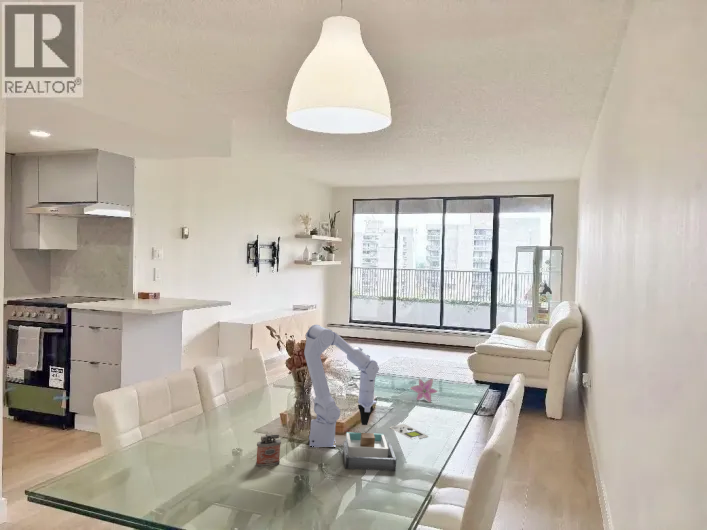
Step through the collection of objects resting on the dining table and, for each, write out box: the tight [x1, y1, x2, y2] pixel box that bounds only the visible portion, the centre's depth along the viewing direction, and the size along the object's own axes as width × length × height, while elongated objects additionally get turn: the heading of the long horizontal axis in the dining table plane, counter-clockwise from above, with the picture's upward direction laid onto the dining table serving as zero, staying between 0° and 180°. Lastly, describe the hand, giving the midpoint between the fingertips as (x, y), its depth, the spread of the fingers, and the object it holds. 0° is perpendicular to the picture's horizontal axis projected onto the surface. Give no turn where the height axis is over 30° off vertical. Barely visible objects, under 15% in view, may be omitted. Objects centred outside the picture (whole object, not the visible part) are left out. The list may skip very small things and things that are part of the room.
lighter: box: [255, 433, 282, 468], centre depth 175 cm, size 8×3×10 cm, turn 118°
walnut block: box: [360, 432, 375, 447], centre depth 190 cm, size 4×4×6 cm
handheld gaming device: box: [389, 423, 429, 440], centre depth 214 cm, size 9×1×15 cm
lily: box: [409, 378, 438, 404], centre depth 261 cm, size 12×12×10 cm
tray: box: [345, 431, 388, 458], centre depth 193 cm, size 14×14×4 cm
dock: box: [342, 439, 397, 472], centre depth 184 cm, size 17×14×4 cm
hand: (364, 424), depth 205 cm, fingers closed
